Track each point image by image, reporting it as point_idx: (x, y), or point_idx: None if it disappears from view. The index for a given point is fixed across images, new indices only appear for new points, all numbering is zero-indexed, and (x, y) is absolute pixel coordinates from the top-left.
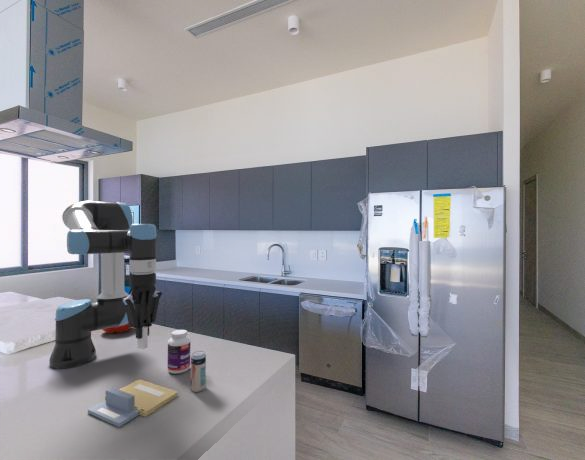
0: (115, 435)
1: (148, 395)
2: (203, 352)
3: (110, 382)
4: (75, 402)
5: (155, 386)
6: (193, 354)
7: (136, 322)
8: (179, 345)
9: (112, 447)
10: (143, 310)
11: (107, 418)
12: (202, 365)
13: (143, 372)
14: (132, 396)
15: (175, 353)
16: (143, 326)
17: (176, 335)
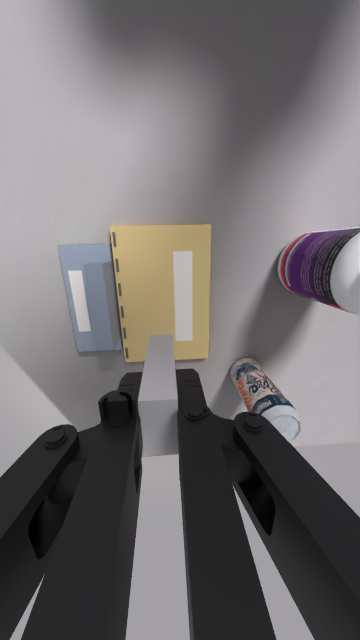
0: (67, 359)
1: (168, 317)
2: (295, 433)
3: (172, 137)
4: (62, 158)
5: (202, 297)
6: (272, 422)
7: (54, 534)
8: (340, 305)
9: (50, 381)
10: (193, 630)
11: (71, 317)
12: None
13: (257, 177)
14: (108, 349)
15: (313, 289)
16: (171, 424)
17: None
